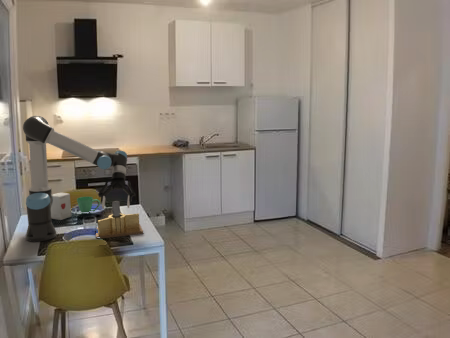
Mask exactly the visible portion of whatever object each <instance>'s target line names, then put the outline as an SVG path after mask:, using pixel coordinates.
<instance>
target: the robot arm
mask: <svg viewBox="0 0 450 338" xmlns="http://www.w3.org/2000/svg"><path fill="white" fill-rule="evenodd" d="M22 131H23V133H24V135H25V141H26V142H27V144H28V145H29V146H28V147H29V162H30V164H29V165H30V178H31V186H30V187H29V189H28V192H29V193H28V194H29V195H27V196H26V198H25V206H26V214H27V223H28V224H27V225H28V226H27V229H26V232H25V240H26V241H28V242H32V243H36V242H37V243H39V242H46V241H49V240H52V239H54V238H56V237H57V231H56V228H55V226H54V224H53V221H52V218H51V205H52V202H53V197H52V195H53V193H52V186H51V185H49V174H48V173H49V172H48V157H47V156H48V155H47V144H50V145H51V146H53V147H55V148H58V149H60V150H62V151H64V152H66V153H69V154H71V155H73V156H75V157H78V158H79V159H82V160H83V161H86V162H88V163H91V164H93V165H94V166H96V167H98V168H99V169H101V170H108V169H109V168H111V167H113V168H112V172H111V173H112V175H111V181H110V182H109V181H108V180H106V181H105V183H104V184H103V187H102V188H101V189H100V191H99V192H98V193H97V196H98V197H99V198H100V204H101V207H102V209H105V205H106V197H107V196H108V195H109V194H110V193H111V192H112V191H114V190H121V189H122V191H124V192H125V194H127V204H126V206H127V209H129V208H130V204H131V203H132V201H133V199H132V198H133V197H136V193H135V191H134V189H133V187H132V185H131V181H130V180H127V181H126V174H127V172H126V171H127V165H128V154H127V152H126V151H124V150H117V151H114V153H113V152H106V151H102V150H97V149H95V148H92V147H90V146H89V145H85V144H84V143H82V142H80V141H78V140H76V139H74V138H71V137H69V136H67V135H65V134H63V133H61V132H58V131H57V130H55V129H54V127H53V126H51V125H49V122H48V121H47V119H46V118H45V117H43V116H40V115H32V116H30V117H28V118H27V119H26V120H24V122H23V125H22ZM126 186H128V188H127V187H126ZM128 189H129V190H130V191H129V190H128Z"/></svg>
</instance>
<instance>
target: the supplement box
mask: <svg viewBox="0 0 450 338" xmlns="http://www.w3.org/2000/svg"><path fill="white" fill-rule="evenodd" d="M52 197H53V202H52V205H51V219H53V220H58V221H62V220H65V219H67V218H71V217H72V207H71V205H72V204H71V194H70V193H67V192H57V193H52Z"/></svg>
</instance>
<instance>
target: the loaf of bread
mask: <svg viewBox="0 0 450 338" xmlns="http://www.w3.org/2000/svg"><path fill="white" fill-rule="evenodd" d="M96 228H97V229H98V233H96V234H95V238H96V237H100V238H101V239H108V238H116V237H117V238H119V237H125V236H133V235H134V236H136V235H142V234H144V230H143V228H142V226H141V224H140V213H129V214H128V213H127V214H124V213H121V212H120V217H113V213H112V214H109V215H108V216H107V217H106V218H103V219H99V220H97V227H96Z"/></svg>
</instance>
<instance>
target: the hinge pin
mask: <svg viewBox="0 0 450 338" xmlns="http://www.w3.org/2000/svg"><path fill="white" fill-rule="evenodd" d="M120 204H121V203H120V201H118V200H114V201H112V202H111V207H112V214H113V217H120V213H121V205H120Z"/></svg>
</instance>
